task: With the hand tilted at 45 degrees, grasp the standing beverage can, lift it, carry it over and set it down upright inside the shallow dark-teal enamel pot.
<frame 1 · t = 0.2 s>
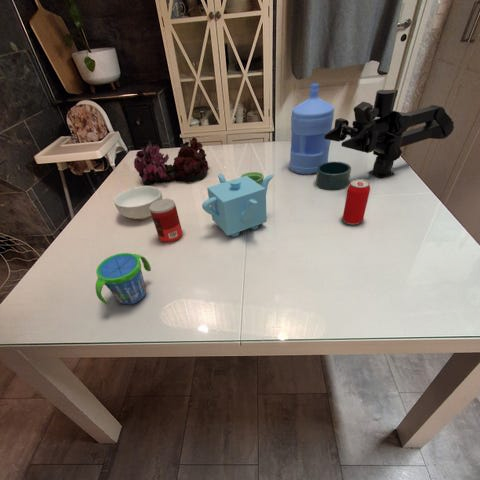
hand: (333, 140, 98), 17 cm above the table, tool horizontal, fingers open, 9 cm apart
flower arrangement: (174, 178, 130), on the table
beverage can: (352, 221, 95), on the table
canned food: (171, 237, 98), on the table
teakettle: (242, 225, 99), on the table
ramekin: (252, 188, 117), on the table
water jug: (308, 167, 126), on the table
snack cup: (132, 296, 80), on the table
cereal bowl: (143, 214, 110), on the table
pot: (331, 183, 114), on the table
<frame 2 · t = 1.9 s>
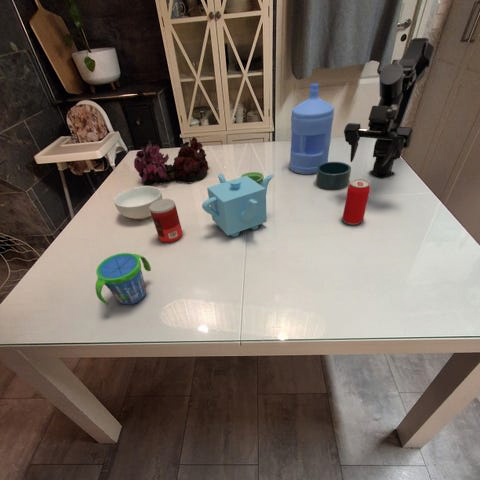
hand: (366, 163, 89), 14 cm above the table, tool tilted 50°, fingers open, 9 cm apart
nothing on the table moved.
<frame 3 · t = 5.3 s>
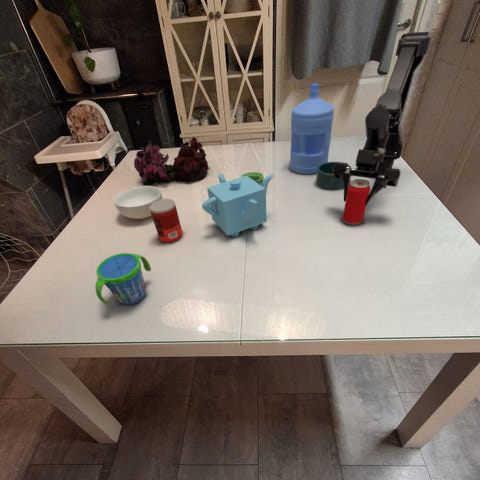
hand: (354, 202, 89), 7 cm above the table, tool tilted 45°, fingers closed on beverage can, 6 cm apart
beverage can: (352, 221, 95), on the table, touching gripper
everything else where it was.
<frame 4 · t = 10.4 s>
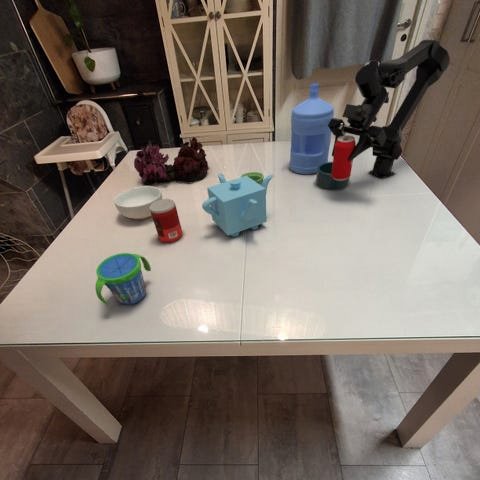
hand: (340, 158, 96), 13 cm above the table, tool tilted 45°, fingers closed on beverage can, 6 cm apart
beverage can: (340, 178, 101), point 7 cm above the table, touching gripper
everything else where it was.
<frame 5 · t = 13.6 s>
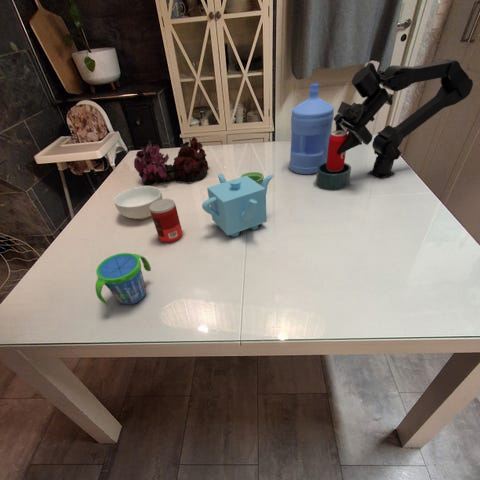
hand: (333, 150, 105), 12 cm above the table, tool tilted 45°, fingers closed on beverage can, 6 cm apart
beverage can: (334, 170, 110), point 5 cm above the table, touching gripper
everything else where it was.
when the fingers open (7 cm above the table, at t = 15.9 s): beverage can stays where it is, resting on pot.
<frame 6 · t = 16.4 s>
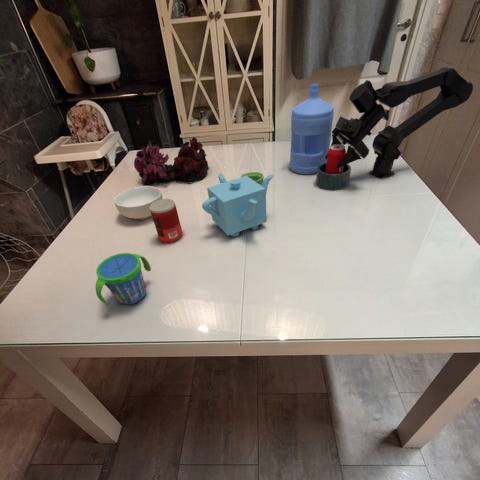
hand: (331, 163, 108), 7 cm above the table, tool tilted 45°, fingers open, 9 cm apart
beverage can: (332, 181, 113), resting on pot
everything else where it was.
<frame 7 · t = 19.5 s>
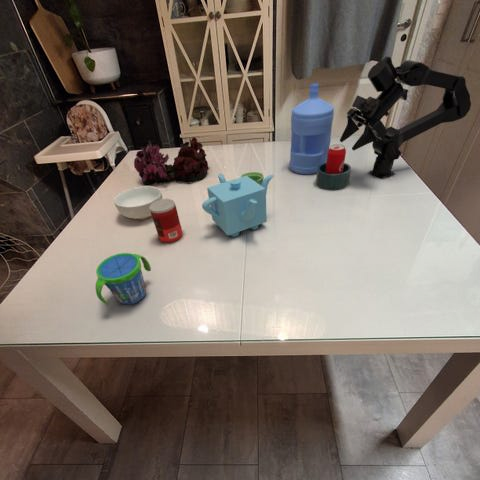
hand: (346, 145, 105), 13 cm above the table, tool tilted 45°, fingers open, 9 cm apart
nothing on the table moved.
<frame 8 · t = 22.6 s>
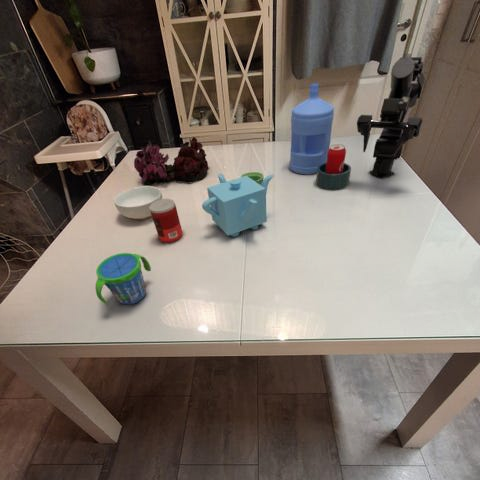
hand: (378, 152, 95), 14 cm above the table, tool tilted 45°, fingers open, 9 cm apart
nothing on the table moved.
at the end: beverage can 0.2 cm off-centre in the pot, point 0.4 cm above the pot's base; beverage can tilted 0°; the gripper is holding nothing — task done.
